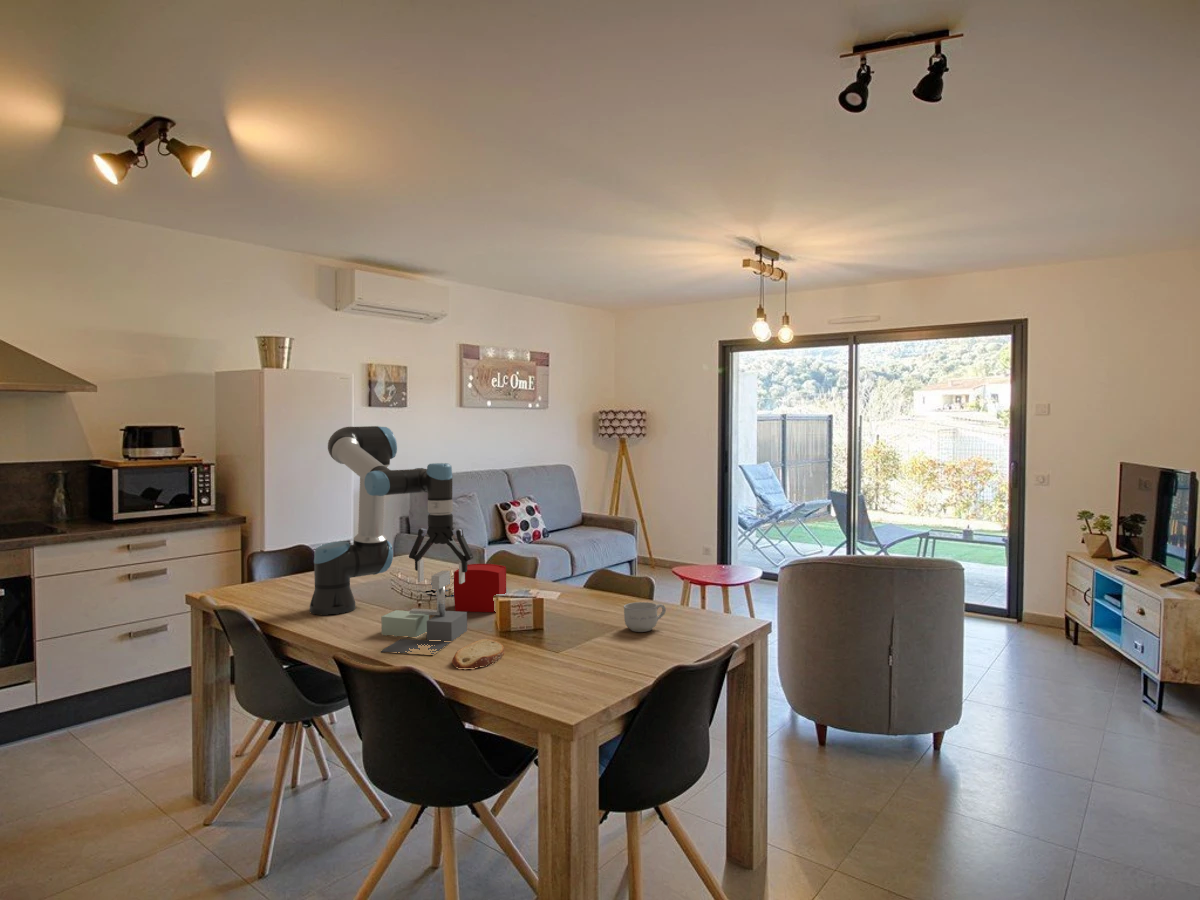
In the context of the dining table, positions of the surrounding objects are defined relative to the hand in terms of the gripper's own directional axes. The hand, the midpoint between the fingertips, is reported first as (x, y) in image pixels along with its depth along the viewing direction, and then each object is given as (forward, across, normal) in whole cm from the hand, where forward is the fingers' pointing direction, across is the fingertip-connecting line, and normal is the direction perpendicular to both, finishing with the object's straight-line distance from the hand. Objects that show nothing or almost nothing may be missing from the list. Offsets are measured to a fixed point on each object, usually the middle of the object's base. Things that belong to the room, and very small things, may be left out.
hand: (441, 582), depth 220 cm
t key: (+10, -5, 0) cm, 11 cm away
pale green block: (+17, -12, 0) cm, 21 cm away
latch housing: (+17, +2, 0) cm, 17 cm away
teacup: (+17, +61, +19) cm, 66 cm away
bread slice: (+18, +18, -17) cm, 30 cm away
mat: (+17, -2, -13) cm, 21 cm away
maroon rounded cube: (+17, 0, +33) cm, 37 cm away
